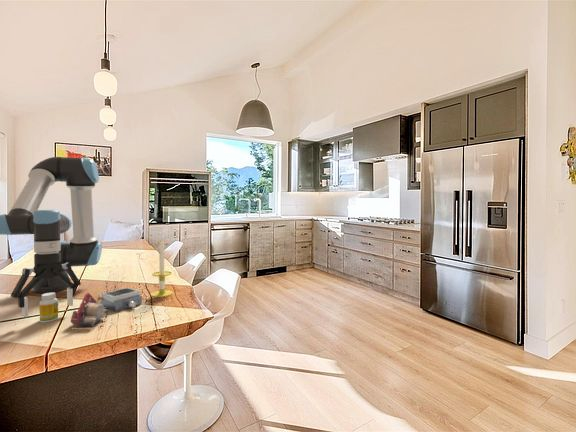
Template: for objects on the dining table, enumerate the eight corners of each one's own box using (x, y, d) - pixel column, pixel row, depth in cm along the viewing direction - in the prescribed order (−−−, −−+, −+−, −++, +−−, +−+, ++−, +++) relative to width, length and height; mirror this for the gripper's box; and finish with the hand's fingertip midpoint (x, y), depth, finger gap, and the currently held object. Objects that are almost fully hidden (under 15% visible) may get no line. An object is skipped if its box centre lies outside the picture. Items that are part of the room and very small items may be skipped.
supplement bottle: (42, 318, 110) (41, 292, 110) (60, 316, 113) (59, 291, 112) (37, 323, 105) (36, 297, 105) (56, 321, 108) (55, 295, 107)
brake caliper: (78, 310, 112) (98, 285, 112) (102, 328, 112) (122, 303, 112) (56, 323, 101) (78, 295, 100) (83, 342, 101) (104, 314, 101)
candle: (146, 293, 141) (146, 237, 140) (167, 289, 149) (167, 235, 147) (156, 298, 134) (155, 239, 133) (177, 294, 142) (177, 237, 141)
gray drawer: (99, 306, 124) (99, 293, 124) (125, 298, 133) (125, 286, 133) (120, 313, 116) (119, 299, 116) (146, 305, 126) (146, 292, 126)
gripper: (5, 258, 95) (7, 323, 96) (90, 249, 117) (91, 302, 117) (-3, 256, 99) (-2, 319, 100) (80, 247, 121) (81, 299, 121)
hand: (48, 310), depth 109 cm, fingers open, 13 cm apart
